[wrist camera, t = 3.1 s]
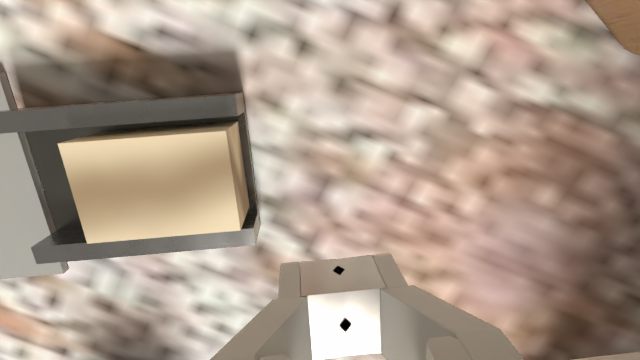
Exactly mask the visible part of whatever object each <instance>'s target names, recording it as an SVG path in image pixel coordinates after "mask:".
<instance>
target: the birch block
mask: <svg viewBox="0 0 640 360" xmlns="http://www.w3.org/2000/svg"><path fill="white" fill-rule="evenodd" d="M58 147H59V150H60V154H61V157H62V160H63V164H64V167H65V171H66V174H67V177H68V181H69V184H70V187H71V191H72V194H73V198H74V201H75V204H76V208H77V211H78V214H79V218H80V221H81V225H82V228H83V231H84V235H85V238H86V241H87V244H91V243H102V242H114V241H125V240H137V239H148V238H160V237H171V236H183V235H195V234H206V233H218V232H229V231H241V228H242V225H243V223H244V220H245V217H246V214H247V212H248V209H249V199H248V191H247V184H246V177H245V169H244V162H243V155H242V148H241V140H240V133H239V126H238V121H234V122H220V123H207V124H194V125H180V126H167V127H154V128H140V129H127V130H114V131H100V132H95V133H92V134H89V135H85V136H82V137H78V138H75V139H72V140H68V141H65V142H62V143H58Z"/></svg>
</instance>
